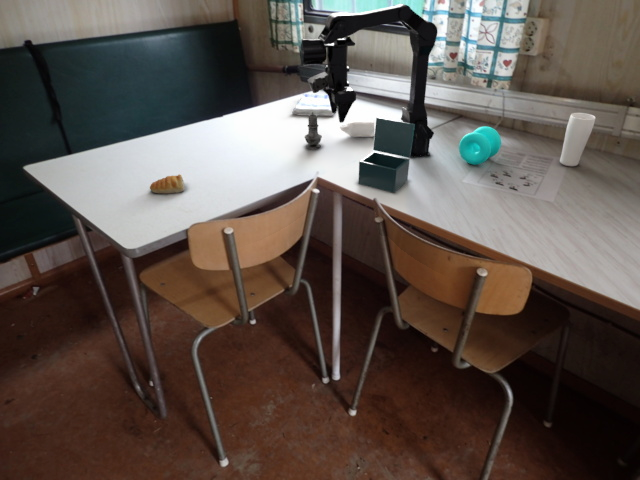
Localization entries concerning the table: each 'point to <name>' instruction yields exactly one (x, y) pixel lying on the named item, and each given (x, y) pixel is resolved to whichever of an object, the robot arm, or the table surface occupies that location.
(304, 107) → the dish towel
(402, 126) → the green box lid
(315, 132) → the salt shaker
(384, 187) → the open-top green box
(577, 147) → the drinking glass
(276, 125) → the table surface
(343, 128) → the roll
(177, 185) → the pastry
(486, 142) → the donuts
